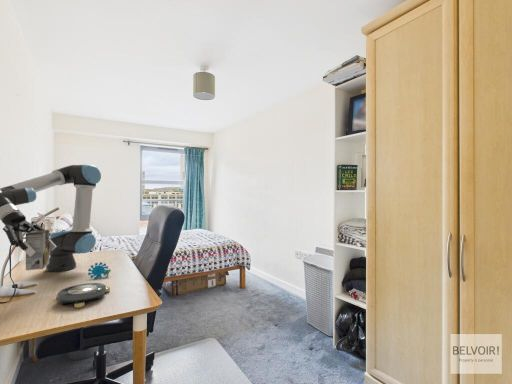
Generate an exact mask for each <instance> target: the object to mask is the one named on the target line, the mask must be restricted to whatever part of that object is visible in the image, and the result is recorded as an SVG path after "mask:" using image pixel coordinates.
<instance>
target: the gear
mask: <svg viewBox="0 0 512 384" xmlns="http://www.w3.org/2000/svg"><path fill="white" fill-rule="evenodd" d="M87 271H88V273H87V274H88V276H89V277H90V279H93V278H94V280H97V279H98V277H99V279H103V277H106V276H109V274H110V272H112V271H111V268H109V266H108V265H107V264H106V263H105V262H104V263H103V262H99V264H98V263H97V262H96V263H94V265H90V268H88V269H87ZM102 275H103V277H102Z"/></svg>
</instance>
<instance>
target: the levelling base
mask: <svg viewBox="0 0 512 384" xmlns="http://www.w3.org/2000/svg"><path fill="white" fill-rule="evenodd" d="M110 292H111V287H110V286H107V285H106V284H104V283H100V282H87V283H80V284H75V285H72V286H68V287H66V288H63V289H60V291H59V292H58V293H57V294H56V297H55V299H56V300H57V301H59V302H61V306H67V305H70V304H71V303H74V304H73V306H74V310H82V309H83V308H85V307H86V302H87V301H89V300H92V301H100V300H101V298H102V296H103V295H105V294H107V293H110ZM85 301H86V302H85Z"/></svg>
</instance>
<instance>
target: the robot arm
mask: <svg viewBox="0 0 512 384" xmlns="http://www.w3.org/2000/svg"><path fill="white" fill-rule="evenodd" d="M101 178H102V174H101V171H100V170H99V168H98V167H97V166H95V165H94V164H71V165H68V166H64V167H60V168H58V169H54V170H52V171H51V172H50V173H47V174H44V175H41V176H40V175H39V176H38V177H33V178H31V179H27V180H24V181H21V182H18V183H13V184H11V185H8V186H3V187H1V188H0V221H1V222H2V224H3V225H4V227H3V228H2V231H4V233H5V235H6V236H7V238H8V240H9V241H8V242H9V243H10V245H11V246H15V247H16V248H18V247H19V248H20V249H21V250H22V251H24V253H25V254H26V253H27V254H28V255H29V256H30V257H31V256H32V255H33V254H34V253H35V251H34V250H33V248H32V247H31V246H30V245H29V244H28V243H27V242H26V240H25V241H24V238H23V237H24V236H23V233H28V232H31V231H33V230H45V229H44V228H43V227H41V226H40V225H39V224H37V223H36V221H34V220H33V221H31V222H29V221H27V217H26V216H25V215H24V214H23V212H22V211H21V210H20V209H19V208H18V207H17V206H20V205H24V204H30V203H33V202H35V201H36V199H37V193H38V192H41V191H44V190H47V189H49V188H51V187H52V188H53V187H55V186H63V185H68V184H69V185H70V184H73V187H74V188H75V199H74V200H75V201H74V210H73V221H72V222H73V223H72V228H71V229H69V230H64V231H56V232H51V233H50V232H49V264H48V265H47V266H46V267H45V271H46V272H49V273H51V272H52V273H57V272H65V271H69V270H73V269H76V267H77V262H76V260H75V257H74V254H87V253H89V252H91V251H92V250H93V248H94V247H95V245H96V242H97V241H96V240H97V239H96V237H95V235H94V234H93V230H92V229H91V228H90V227H91V226H90V225H91V212H92V203H93V190H94V189H95V188H96V187H97V186H96V185H97V184H98V183H99V182H100V181H101V180H102V179H101ZM34 223H36V225H33V224H34ZM32 225H33V226H32Z"/></svg>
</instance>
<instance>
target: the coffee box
mask: <svg viewBox="0 0 512 384" xmlns="http://www.w3.org/2000/svg"><path fill="white" fill-rule="evenodd" d="M49 233H50V230H49V229H44V230H33V231H31V232H28V233H27V232H25V241H26V242H27V243H28V244H29V245H30V246H31V247H32V248H33V250H34V251H35V253H34V254H33V255H32V256H31V257H30V256H29V255H28V254H27V253H26V252H25V271H35V270H43V269H46V266H47V265H48V264H49V258H50V249H49V238H50V236H49Z"/></svg>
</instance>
